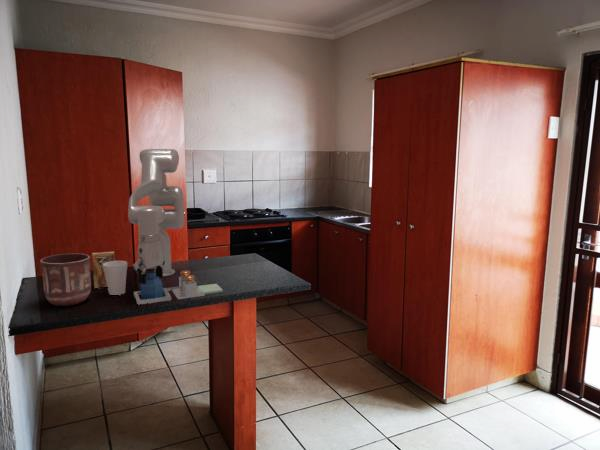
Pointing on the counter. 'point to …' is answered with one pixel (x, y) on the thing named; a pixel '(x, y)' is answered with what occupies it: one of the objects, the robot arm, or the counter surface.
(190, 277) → the plunger
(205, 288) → the mat
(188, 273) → the plunger
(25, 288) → the counter surface
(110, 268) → the foam cup
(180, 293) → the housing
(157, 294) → the perfume bottle
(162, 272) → the robot arm
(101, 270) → the candy box
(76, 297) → the pottery
